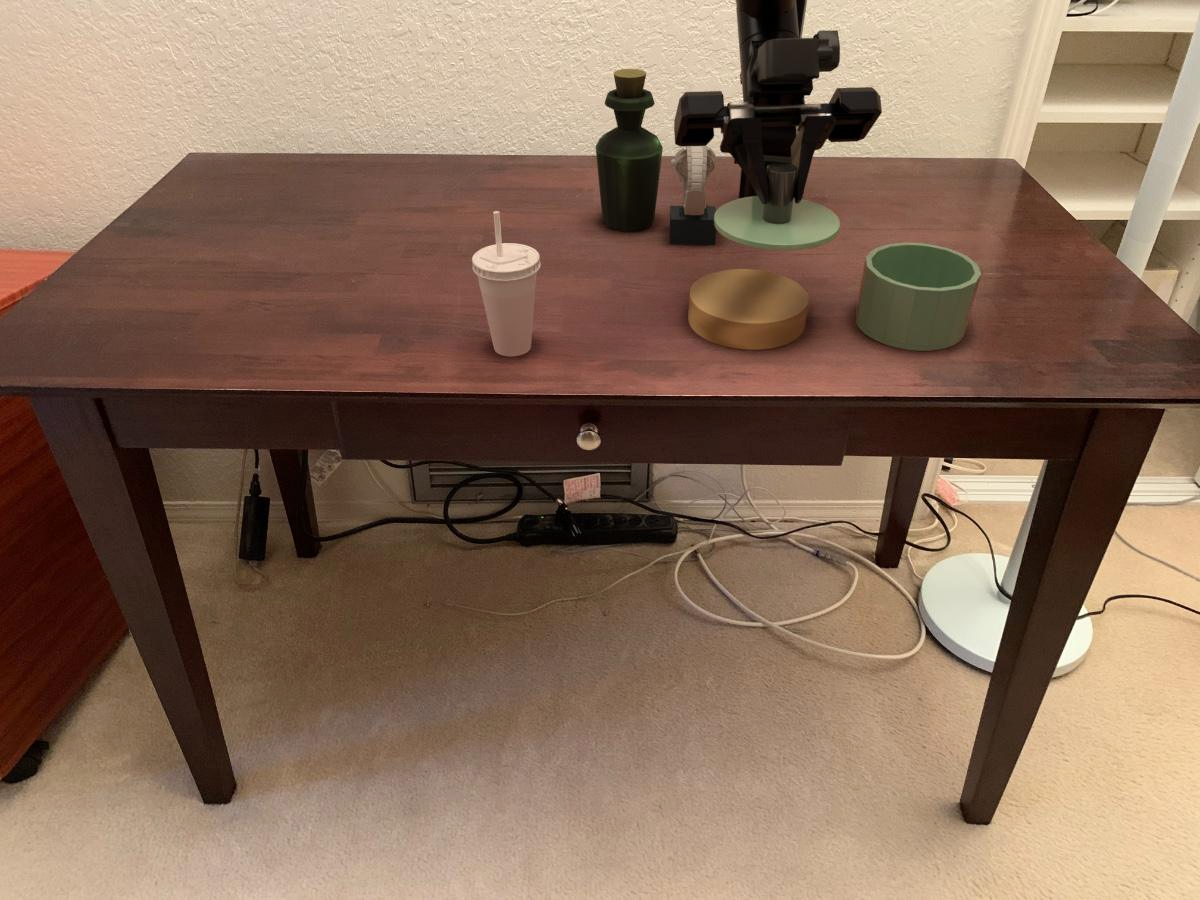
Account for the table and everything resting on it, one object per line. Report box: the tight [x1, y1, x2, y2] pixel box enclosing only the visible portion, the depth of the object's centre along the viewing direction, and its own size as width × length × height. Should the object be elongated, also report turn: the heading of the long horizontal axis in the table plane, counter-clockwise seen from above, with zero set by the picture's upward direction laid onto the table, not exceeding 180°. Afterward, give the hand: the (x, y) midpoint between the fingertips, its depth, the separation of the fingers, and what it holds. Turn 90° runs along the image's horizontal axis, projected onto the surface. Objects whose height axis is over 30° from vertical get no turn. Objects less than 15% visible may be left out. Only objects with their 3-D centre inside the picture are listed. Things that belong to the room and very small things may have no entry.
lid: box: [714, 163, 841, 251], centre depth 86 cm, size 12×12×6 cm
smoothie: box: [471, 210, 542, 357], centre depth 86 cm, size 6×6×14 cm
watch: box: [668, 145, 717, 246], centre depth 108 cm, size 6×8×11 cm
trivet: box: [687, 268, 809, 351], centre depth 93 cm, size 12×12×3 cm
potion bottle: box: [595, 68, 664, 232], centre depth 110 cm, size 8×8×18 cm
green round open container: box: [855, 241, 982, 352], centre depth 91 cm, size 11×11×7 cm
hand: (781, 202), depth 85 cm, fingers closed on lid, 3 cm apart
